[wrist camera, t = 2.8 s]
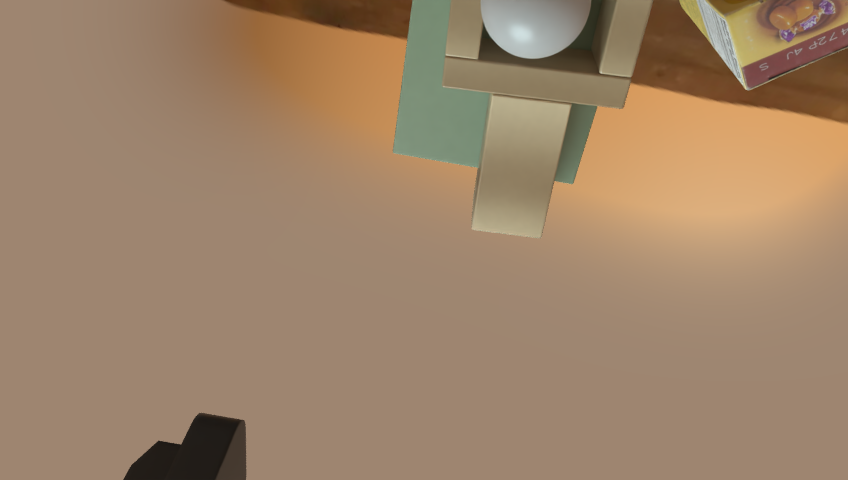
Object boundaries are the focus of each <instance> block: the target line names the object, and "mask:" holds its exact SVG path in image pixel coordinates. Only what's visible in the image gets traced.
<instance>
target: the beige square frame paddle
mask: <svg viewBox="0 0 848 480" xmlns="http://www.w3.org/2000/svg"><path fill="white" fill-rule="evenodd" d="M652 3H653V0H602V4H601V8H600V12H599V17H598V21H597V25H596V29H595V34H594V38H593V42H592V46H591V50H592V51H588V50H580V49H571V48H565V49H563V50H561V51H560V52H558V53H556V54H553V55H551V56H548V57H544V58H537V59H530V58H522V57H518V56H515V55H513V54H510V53H508V52H507V51H505V50H504V49H502V48H501V47H500V46H499V45H497V44H496V43H495V41H494V40H493V39H487V38H481V37H482V30H483V23H484V22H483V19H482V14H481V0H451V5H450V14H449V23H448V32H447V41H446V51H445V60H444V69H443V78H442V87H444V88H453V89H461V90H469V91H477V92H486V93H489V98H488V105H487V111H486V118H485V124H484V131H483V138H482V144H481V151H480V157H479V164H478V170H477V178H476V184H475V190H474V197H473V212H472V226H471V227H472V229H473V230H479V231H487V232H496V233H503V234H511V235H519V236H527V237H535V238H541V237H542V233H543V228H544V223H545V219H546V215H547V210H548V206H549V202H550V197H551V193H552V189H553V184H554V180H555V176H556V171H557V167H558V163H559V158H560V154H561V149H562V145H563V141H564V136H565V132H566V128H567V123H568V119H569V115H570V110H571V106H572V105H571V103H577V104H585V105H593V106H602V107H610V108H619V109H622V108H623V107H624V105H625V101H626V97H627V93H628V90H629V86H630V83H631V76H632V75H633V72H634V68H635V65H636V61H637V57H638V54H639V50H640V46H641V43H642V39H643V36H644V32H645V28H646V25H647V21H648V18H649V14H650V10H651V7H652Z"/></svg>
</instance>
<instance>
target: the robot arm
mask: <svg viewBox="0 0 848 480" xmlns="http://www.w3.org/2000/svg"><path fill="white" fill-rule="evenodd" d="M124 480H246V427H245V421H244V420H239V419H234V418H227V417H222V416H216V415H211V414H205V413H199V414H198V415H197V416H196V417H195V419H194V420H193V422H192V424H191V426H190V428H189V430H188V432H187V434H186V436H185V438H184V440H183V442H182V444H181V445H180V444H174V443H168V442H163V441H158V442H157V443H156V444H154V445H153V446H152V447H151V448H150V449H149V450H148V451H147V452H146V453H144V454H143V455H142V456H141V457H140V458H139V459H138V460H137V461H136V462H134V463H133V464H132V465H131V467H130V469H129V470H128V472H127V474H126V476H125V478H124Z"/></svg>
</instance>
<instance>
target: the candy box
mask: <svg viewBox="0 0 848 480" xmlns="http://www.w3.org/2000/svg"><path fill="white" fill-rule="evenodd" d="M679 1H680V3H681V6H682V8H683V9H684V10H685V12H686V13H687V14H688V15H689V16H690V18H691V19H692V20H693V21H694V23H695V24H696V25H697V26H698V28H699V29H700V30H701V32H702V33H703V34H704V35H705V37H706V38H707V39H708V41H709V42H710V43H711V44H712V46H713V47H714V49H715V50H716V51H717V53H718V54H719V55H720V56H721V58H722V59H723V61H724V62H725V63H726V64H727V66H728V67H729V68H730V70H731V71H732V72H733V73H734V75H735V76H736V77H737V79H738V80H739V81H740V83H741V84H742V85H743V86H744V88H745V89H746V90H751V89H753V88H756V87H758V86H760V85H762V84H765V83H767V82H769V81H771V80H774V79H776V78H778V77H780V76H783V75H785V74H787V73H790V72H792V71H794V70H797V69H799V68H801V67H803V66H806V65H808V64H810V63H813V62H815V61H817V60H819V59H822V58H824V57H826V56H829V55H831V54H834V53H836V52H839V51H841V50H843V49H845V48H848V0H679Z"/></svg>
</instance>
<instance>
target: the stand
mask: <svg viewBox="0 0 848 480" xmlns="http://www.w3.org/2000/svg"><path fill="white" fill-rule="evenodd" d="M601 4H602V0H481V14H482V19H483V22H484V23H483V30H482V37H481V38H487V39H493V40H494V41H495V43H496V44H497V45H499V46H500V47H501V48H502V49H504V50H505V51H507V52H508V53H510V54H513V55H515V56H518V57H522V58H530V59H537V58H544V57H548V56H551V55H553V54H556V53H558V52H560V51H561V50H563V49H565V48H571V49H580V50H588V51H592V50H591V46H592V42H593V38H594V34H595V29H596V25H597V21H598V17H599V12H600V8H601ZM450 5H451V0H413V1H412V8H411V16H410V24H409V32H408V39H407V47H406V55H405V62H404V70H403V78H402V85H401V93H400V101H399V109H398V116H397V124H396V131H395V139H394V147H393V153H396V154H402V155H409V156H414V157H419V158H425V159H431V160H437V161H442V162H448V163H454V164H460V165H465V166H471V167H477V168H478V164H479V157H480V151H481V144H482V138H483V131H484V124H485V118H486V111H487V105H488V98H489V93H486V92H477V91H469V90H461V89H453V88H444V87H442V78H443V69H444V60H445V51H446V41H447V32H448V23H449V14H450ZM571 105H572V106H571V110H570V115H569V119H568V123H567V128H566V132H565V136H564V141H563V145H562V149H561V154H560V158H559V163H558V167H557V171H556V176H555V180H554V181H558V182H563V183H569V184H573V183H574V179H575V176H576V173H577V170H578V167H579V163H580V160H581V157H582V154H583V151H584V148H585V144H586V141H587V138H588V135H589V132H590V128H591V125H592V122H593V119H594V116H595V112H596V109H597V106H593V105H585V104H577V103H571Z"/></svg>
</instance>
